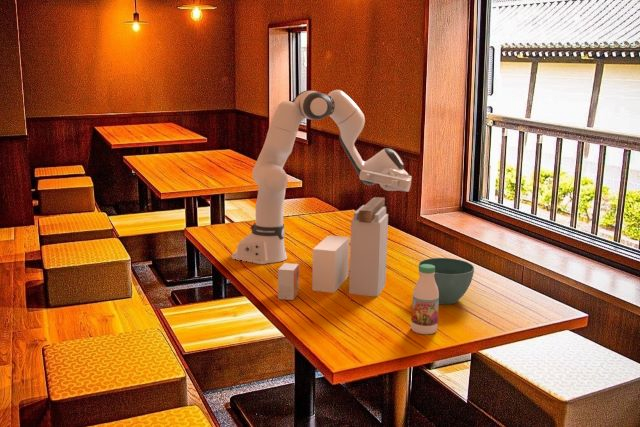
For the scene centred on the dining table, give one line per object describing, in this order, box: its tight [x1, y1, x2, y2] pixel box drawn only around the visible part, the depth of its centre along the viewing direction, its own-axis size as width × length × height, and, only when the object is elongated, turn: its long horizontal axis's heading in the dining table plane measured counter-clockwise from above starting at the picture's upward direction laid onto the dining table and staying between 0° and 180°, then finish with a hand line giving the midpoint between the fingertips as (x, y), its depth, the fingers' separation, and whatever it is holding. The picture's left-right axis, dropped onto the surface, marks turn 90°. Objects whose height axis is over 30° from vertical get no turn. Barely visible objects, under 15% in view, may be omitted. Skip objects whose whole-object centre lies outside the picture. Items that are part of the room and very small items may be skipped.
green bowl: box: [418, 257, 475, 305], centre depth 221 cm, size 18×18×12 cm
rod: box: [359, 196, 386, 223], centre depth 230 cm, size 4×24×4 cm, turn 164°
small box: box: [277, 262, 300, 301], centre depth 223 cm, size 8×6×10 cm
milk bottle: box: [410, 264, 440, 335], centre depth 195 cm, size 8×8×20 cm
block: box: [311, 234, 350, 294], centre depth 237 cm, size 8×20×15 cm, turn 164°
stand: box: [348, 204, 389, 298], centre depth 230 cm, size 10×14×28 cm
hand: (378, 179), depth 251 cm, fingers open, 8 cm apart
